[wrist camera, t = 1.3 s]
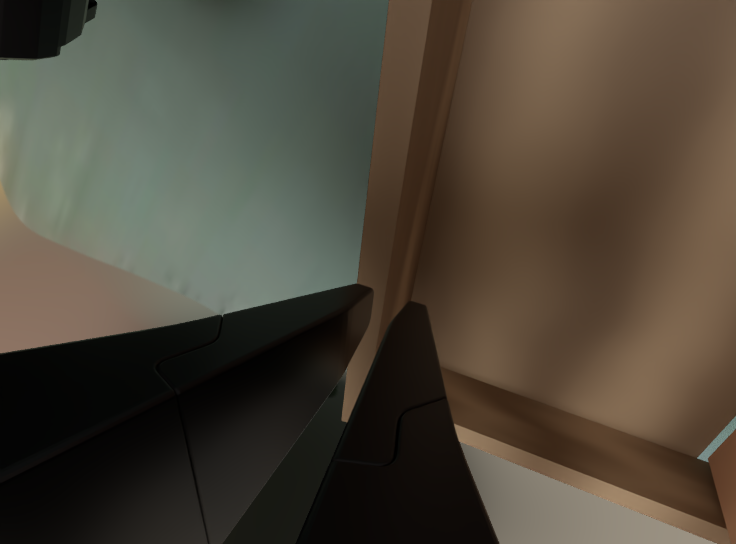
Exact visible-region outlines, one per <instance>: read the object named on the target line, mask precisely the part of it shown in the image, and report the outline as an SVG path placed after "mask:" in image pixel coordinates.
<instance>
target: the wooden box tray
mask: <svg viewBox="0 0 736 544" xmlns="http://www.w3.org/2000/svg"><path fill="white" fill-rule="evenodd" d="M357 284H361V285H364V286H367V287H371V288H372V289H373V290H374V299H373V306H372V313H371V319H370V323H369V326H368V328H367V330H366V332H365V334H364V336H363V338H362V340H361V342H360V344H359V346H358V347H357V349H356V351H355V353H354V355H353V357H352V359H351V361H350V363H349V364H348V368H347V377H346V386H345V394H344V395H345V396H344V403H343V413H342V421H345V422H348V419H349V417H350V415H351V412H352V410H353V407H354V405H355V403H356V400H357V398H358V396H359V393H360V391H361V389H362V386H363V384H364V382H365V379H366V377H367V374H368V372H369V370H370V367H371V365H372V363H373V360H374V358H375V356H376V353H377V351H378V349H379V346H380V344H381V341H382V339H383V337H384V334H385V332H386V330H387V327H388V325H389V324H390V322H391V321H392V319H393V318H394V317H395V316H396V315H397V314H398V313H399V311H400V310H401V309H402V308H403V307H404V306H405V305H406V303H407V302H408V301H414V302H417V303H420V304H423V305H426V306H427V308H428V313H429V317H430V322H431V326H432V331H433V335H434V340H435V344H436V349H437V354H438V358H439V363H440V367H441V372H442V376H443V381H444V385H445V390H446V394H447V400H448V401H449V405H450V410H451V414H452V418H453V422H454V425H455V429H456V433H457V436H458V439H459V441H460V442H462V443H465V444H467V445H470V446H472V447H475V448H477V449H480V450H482V451H485V452H487V453H490V454H493V455H495V456H498V457H500V458H502V459H505V460H508V461H510V462H513V463H515V464H518V465H520V466H523V467H525V468H528V469H530V470H533V471H535V472H538V473H540V474H543V475H545V476H548V477H550V478H553V479H555V480H558V481H561V482H563V483H566V484H568V485H571V486H573V487H576V488H578V489H581V490H583V491H586V492H588V493H591V494H593V495H596V496H598V497H601V498H604V499H606V500H609V501H611V502H614V503H616V504H619V505H621V506H624V507H626V508H629V509H631V510H634V511H637V512H639V513H641V514H644V515H646V516H649V517H651V518H654V519H656V520H659V521H662V522H664V523H667V524H669V525H672V526H675V527H677V528H679V529H682V530H684V531H687V532H689V533H692V534H694V535H697V536H699V537H702V538H705V539H707V540H710V541H712V542H715V543H717V544H731V541H730V538H729V534H728V530H727V527H726V523H725V519H724V516H723V512H722V508H721V505H720V501H719V497H718V494H717V490H716V486H715V483H714V479H713V475H712V472H711V468H710V464H709V463H708V462H706V461H703V460H700V459H697V457H698V456H699V455H700V454H701V453H702V452H703V451H704V450H705V449H706V448H707V446H708V445H709V444H710V443H711V442H712V441H713V440H714V439H715V438H716V437H717V436H718V434H719V433H720V432H721V431H722V430H723V429H724V428H725V427H726V426H727V425H728V424H729V422H730V421H731V420H732V419H733V418H734V417H735V416H736V0H389V5H388V14H387V23H386V32H385V41H384V49H383V58H382V67H381V76H380V85H379V94H378V103H377V111H376V120H375V129H374V138H373V147H372V156H371V164H370V173H369V182H368V191H367V200H366V209H365V217H364V226H363V235H362V244H361V253H360V262H359V271H358V279H357Z"/></svg>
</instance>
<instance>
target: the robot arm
mask: <svg viewBox="0 0 736 544" xmlns="http://www.w3.org/2000/svg"><path fill="white" fill-rule="evenodd" d="M96 9H97V2H96V1H95V0H0V60H37V59H44V58H50V57H55V56H58V55H60V49H61V46H63V45H66V44H68V43H69V42H71V41H72V40H74V39H75V38H77V37H78V36H80V35H81V33H82V30H83V27H84V24H85V23H86V22H88V21H90V20H92V19H93V18H95V14H96ZM373 299H374V290H373V289H372V288H371V287H367V286H364V285H361V284H352V285H348V286H343V287H339V288H335V289H330V290H326V291H322V292H318V293H313V294H309V295H305V296H300V297H296V298H292V299H287V300H283V301H279V302H275V303H270V304H266V305H262V306H257V307H253V308H249V309H244V310H240V311H236V312H232V313H227V314H224V315H223V318H222V315H216V316H212V317H208V318H204V319H199V320H194V321H190V322H185V323H180V324H175V325H170V326H164V327H158V328H152V329H147V330H141V331H135V332H129V333H123V334H116V335H110V336H105V337H99V338H92V339H86V340H80V341H74V342H68V343H62V344H56V345H49V346H43V347H37V348H31V349H25V350H19V351H13V352H7V353H0V544H222V543H223V541H224V540H225V539H226V537H227V536H228V535H229V533H230V532H231V531H232V529H233V528H234V526H235V525H236V524H237V522H238V521H239V519H240V518H241V517H242V515H243V514H244V512H245V511H246V510H247V508H248V507H249V506H250V504H251V503H252V501H253V500H254V499H255V497H256V496H257V494H258V493H259V492H260V490H261V489H262V487H263V486H264V485H265V483H266V482H267V481H268V479H269V478H270V476H271V475H272V474H273V472H274V471H275V469H276V468H277V466H278V465H279V464H280V462H281V461H282V459H283V458H284V457H285V455H286V454H287V453H288V451H289V450H290V449H291V447H292V446H293V444H294V443H295V442H296V440H297V439H298V437H299V436H300V435H301V433H302V432H303V430H304V429H305V428H306V426H307V425H308V423H309V422H310V421H311V419H312V418H313V417H314V415H315V414H316V412H317V411H318V410H319V408H320V407H321V405H322V404H323V403H324V401H325V400H326V399H327V397H328V396H329V394H330V393H331V392H332V390H333V389H334V387H335V386H336V385H337V383H338V382H339V380H340V379H341V377H342V375H343V373H344V372H345V370H346V368H347V366H348V364H349V363H350V361H351V359H352V357H353V355H354V353H355V351H356V349H357V347H358V346H359V344H360V342H361V340H362V338H363V336H364V334H365V332H366V330H367V328H368V326H369V323H370V319H371V313H372V306H373ZM296 544H499V541H498V539H497V536H496V534H495V531H494V529H493V526H492V524H491V521H490V519H489V516H488V514H487V511H486V509H485V506H484V504H483V501H482V499H481V496H480V494H479V491H478V489H477V486H476V484H475V482H474V479H473V476H472V474H471V471H470V469H469V466H468V464H467V461H466V459H465V456H464V453H463V450H462V448H461V445H460V442H459V439H458V436H457V433H456V429H455V425H454V422H453V418H452V414H451V410H450V405H449V401H448V400H447V394H446V390H445V385H444V381H443V376H442V372H441V367H440V363H439V358H438V354H437V349H436V344H435V340H434V335H433V331H432V326H431V322H430V317H429V313H428V308H427V306H426V305H423V304H420V303H417V302H414V301H408V302H407V303H406V305H405V306H404V307H403V308H402V309H401V310H400V311H399V313H398V314H397V315H396V316H395V317H394V318H393V319H392V321H391V322H390V324H389V325H388V327H387V330H386V332H385V334H384V337H383V339H382V341H381V344H380V346H379V349H378V351H377V353H376V356H375V358H374V360H373V363H372V365H371V367H370V370H369V372H368V374H367V377H366V379H365V382H364V384H363V386H362V389H361V391H360V393H359V396H358V398H357V400H356V403H355V405H354V407H353V410H352V412H351V415H350V417H349V419H348V422H347V424H346V426H345V429H344V431H343V434H342V436H341V438H340V441H339V443H338V445H337V448H336V450H335V452H334V455H333V457H332V459H331V462H330V464H329V466H328V468H327V471H326V473H325V476H324V478H323V480H322V482H321V485H320V487H319V490H318V492H317V494H316V497H315V499H314V501H313V504H312V506H311V508H310V511H309V513H308V515H307V518H306V520H305V523H304V525H303V527H302V530H301V532H300V534H299V537H298V539H297V542H296Z"/></svg>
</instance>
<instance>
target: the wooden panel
mask: <svg viewBox="0 0 736 544" xmlns="http://www.w3.org/2000/svg"><path fill="white" fill-rule="evenodd" d="M708 461H709V464H710V468H711V472H712V475H713V479H714V483H715V486H716V490H717V494H718V497H719V501H720V505H721V508H722V512H723V516H724V519H725V523H726V527H727V530H728V534H729V538H730V541H731V544H736V429H735V430H734V432H733V433H732V434H731V435H730V436H729V437H728V438H727V439H726V440H725V441H724V442H723V443H722V444H721V445H720V446H719V447H718V449H717V450H716V451H715V452H714V453H713V454H712V455H711V456H710V457H709V458H708Z"/></svg>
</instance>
